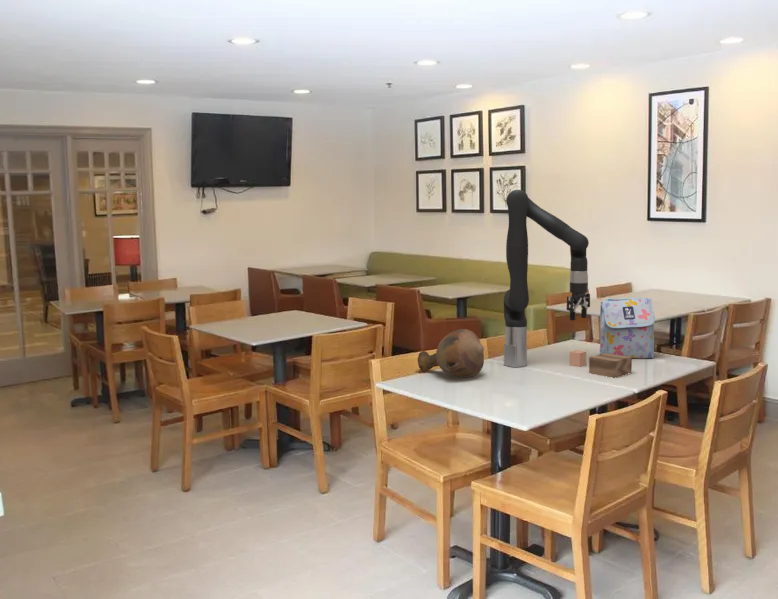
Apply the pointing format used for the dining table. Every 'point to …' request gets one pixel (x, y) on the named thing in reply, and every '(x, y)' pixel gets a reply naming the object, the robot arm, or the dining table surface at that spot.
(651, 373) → the dining table surface
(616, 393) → the dining table surface
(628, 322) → the lunch bag
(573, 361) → the terracotta block
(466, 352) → the jug
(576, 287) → the robot arm
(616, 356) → the walnut box
